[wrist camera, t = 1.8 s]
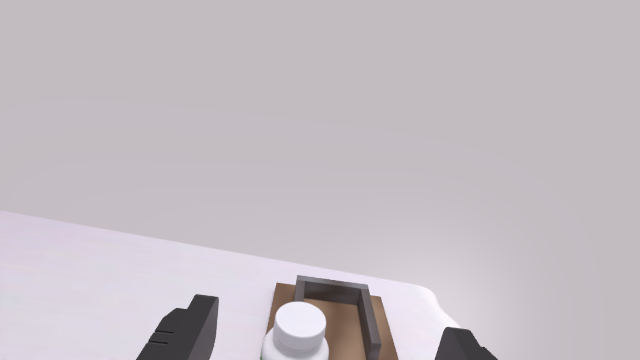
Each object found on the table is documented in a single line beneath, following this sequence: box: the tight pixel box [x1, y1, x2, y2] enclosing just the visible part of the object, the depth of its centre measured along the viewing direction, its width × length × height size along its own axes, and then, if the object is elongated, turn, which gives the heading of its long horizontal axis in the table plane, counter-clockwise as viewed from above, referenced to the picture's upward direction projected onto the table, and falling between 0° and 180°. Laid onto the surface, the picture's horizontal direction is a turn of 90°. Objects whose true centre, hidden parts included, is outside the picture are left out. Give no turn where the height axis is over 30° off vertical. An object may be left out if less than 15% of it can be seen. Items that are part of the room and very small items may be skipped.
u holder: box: [266, 275, 398, 360], centre depth 38 cm, size 14×13×4 cm
